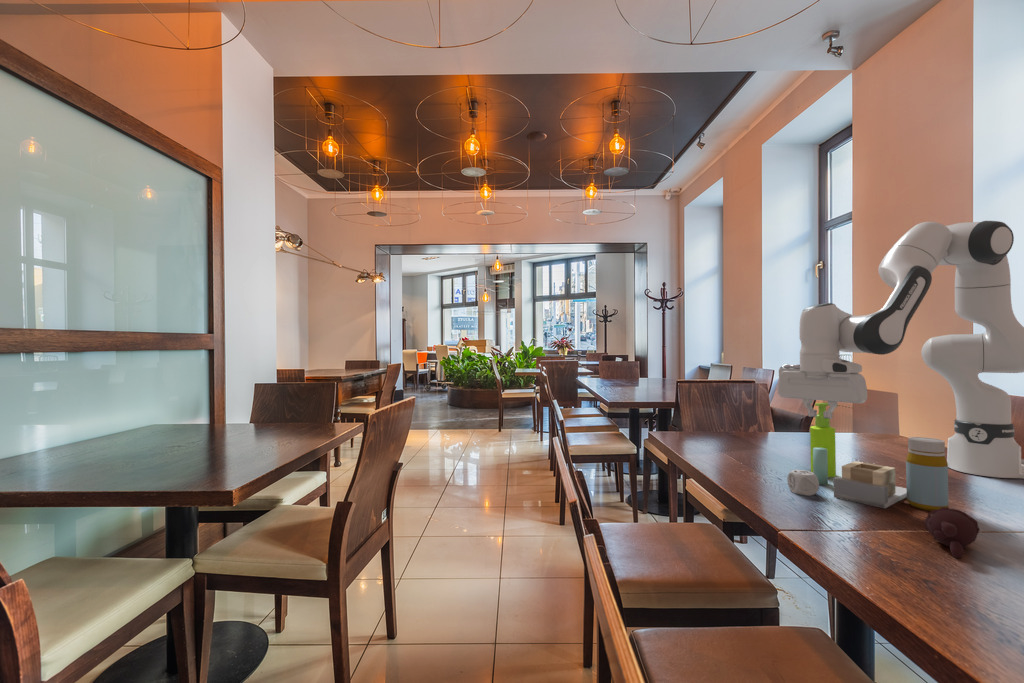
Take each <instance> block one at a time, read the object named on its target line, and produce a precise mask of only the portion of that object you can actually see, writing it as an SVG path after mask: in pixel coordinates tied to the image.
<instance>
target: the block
mask: <svg viewBox="0 0 1024 683" xmlns="http://www.w3.org/2000/svg"><path fill="white" fill-rule="evenodd" d="M841 478H846V479H851V480H856V481H861V482H866V483H871V484H876V485H881V486H886V487H888V497H889V496H891V495H893V494H895V493H896V491H895V486H896V467H892V466H887V465H880V464H875V463H870V462H862V461H856V460H855V461H852V462H850V463H847V464H844V465H841Z"/></svg>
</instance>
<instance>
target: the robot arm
mask: <svg viewBox="0 0 1024 683" xmlns="http://www.w3.org/2000/svg"><path fill="white" fill-rule="evenodd" d="M1014 238H1015V237H1014V232H1013V231H1012V229H1011V227H1010V226H1009V225H1008V224H1006V223H1005V222H1003V221H1000V220H999V221H998V220H983V221H971V222H970V221H968V222H957V223H953V224H950V225H944V224H943V223H940V222H937V221H924V222H920V223H917V224H915V225H913V227H911V228H910V229H909V230H907V231H906V232H905V233H904V234H903V235H902V236H901V237H900V238H899V239H897V241H896V242H895V243H894V244H893V246H891V248H890V249H889V250H888V251H887V252H886V253H885V255H884V257H883V258H882V260H881V261H880V263H879V265H878V270H877V271H878V275H879V277H880V279H881V280H882V281H883V282H884V283H885V284H886V285H887V286H888V287H890V288H892V289H893V291H891V294H890V295H889V297H888V299H887V301H886V302H885V303H884V305H883V307H881V309H879V310H877V311H875V312H872V313H869V314H862V315H853V314H851V313H848V312H846V311H844V310H842V309H840V308H839V307H838V306H837V305H836V304H835V303H834V302H833V303H831V302H827V303H820V304H813V305H808V306H807V307H805V308H804V309H803V310H802V311H801V314H800V318H799V319H800V320H799V332H798V333H799V340H800V344H801V347H800V351H799V364H789V363H786V364H785V363H784V365H782V366H779V368H778V385H777V394H778V395H779V397H780V398H788V399H798V400H802V403H803V405H804V406H805V409H806V410H807V417H810V418H815V417H817V414H818V413H817V412H818V411H817V409H814V407H813V406H812V403H813V401H823V402H827V403H828V405H831V406H828V409H827V410H826V411H824V412H823V414H824V416H823V417H824V418H827V419H830V420H832V419H833V417H834V415H833V412H834V411H835V410H836V408H837V407H838V406H837V405H838V403H849V404H864V403H865V402H866V401H867V400H868V387H867V382H866V381H867V380H866V378H865V377H864V376H863V375H862V374H861V372H862V371H863V366H862V364H860V363H858V362H854V361H850V360H846V359H842V358H841V357H840V352H843V353H857V354H858V353H859V354H860V353H862V354H873V355H874V354H875V355H881V356H882V355H888V354H891V353H893V352H895V351H896V350H898V348H900V346H901V345H902V343H903V341H904V338H905V335H906V332H907V330H908V326H909V324H910V322H911V320H912V318H913V317H914V314H915V313H916V311H917V310H918V309H919V307H920V305H921V303H922V302H923V300H924V298H925V296H926V295H927V293H928V291H929V289H930V288H931V285H932V281H933V278H932V273H933V272H934V271H935V270H936V268H937V267H938V266H955V274H954V311H955V313H956V315H957V317H959V318H960V319H962V320H965V321H968V322H971V323H973V324H976V325H980V326H982V327H983V328H985V332H984V333H971V334H970V333H965V334H964V333H962V334H961V333H960V334H959V333H958V334H957V333H955V334H953V333H952V334H945V335H939V336H933V337H930V338H929V339H927V340H926V341H925V343H924V344H923V345H922V348H921V352H920V354H921V355H920V356H921V358H922V361H923V362H924V364H925V365H926V366H927V367H928V368H929V369H931V370H933V371H934V372H936V373H937V374H939V375H940V376H941V377H943V379H945V381H946V382H947V383H948V384H949V386H950V388H951V390H952V392H953V395H954V396H953V397H954V400H955V412H956V414H955V416H956V419H954V423H953V427H954V432H955V433H954V435H951V436H950V437H948V438H947V450H946V451H947V454H946V455H947V456H946V460H947V463H948V469H951V470H953V471H957V472H961V473H965V474H970V475H977V476H983V477H989V478H990V477H991V478H999V479H1001V478H1003V479H1023V480H1024V458H1022V446H1020V444H1018V443H1017V441H1016V440H1015V439H1014V438H1015V436H1016V435H1015V433H1016V431H1015V426H1014V424H1013V423H1012V398H1011V396H1010V394H1008V392H1006V391H1005V390H1004V389H1002V388H1000V387H997V386H994V385H992V384H989V383H986V382H984V381H982V380H981V379H980V378H979V374H983V373H986V374H987V373H988V374H989V373H991V374H993V373H995V374H996V373H997V374H1020V373H1024V326H1023V325H1022V324H1021V323H1020V322H1019V321H1018V319H1017V317H1016V315H1015V313H1014V310H1013V304H1012V294H1011V293H1012V292H1011V289H1012V288H1011V285H1012V284H1011V280H1012V279H1011V269H1010V263H1009V259H1008V254H1009V252H1010V251H1011V249H1012V247H1013V244H1014Z"/></svg>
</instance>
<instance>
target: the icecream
mask: <svg viewBox="0 0 1024 683" xmlns="http://www.w3.org/2000/svg"><path fill="white" fill-rule="evenodd" d="M923 524H924V525H925V529H926V531H927V532H928V533H929V534H930V535H932V537H933V540H935V541H936V542H938V543H941V544H943V545H944V546H947V547H949V549H950V553H951V555H952V557H954V558H955V559H961V558H963V556H964V550H965V548H966V547H967V546H969V545H970V544H972V543H974V542H975V541H976V540H977V537H978V535H979V532H980V531H981V530H980V528H979V523H978V521H977V520H976V518H973V517H971V515H968V514H967V513H965V512H964V511H963V510H959V509H953V508H949V507H948V508H947V507H942V508H940V509H938V510H933V511H929V512H928V514H927V516H926V517H925V519H924V521H923Z"/></svg>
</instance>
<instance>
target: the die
mask: <svg viewBox="0 0 1024 683" xmlns="http://www.w3.org/2000/svg"><path fill="white" fill-rule="evenodd" d="M786 479H787V485H788V488H789V490H790V491H791V492H792V493H794V494H797V495H801V496H806V497H807V496H815V495H816V494H817V493H818V491H819V489H820V484H819V481H818V478H817V476H816V475H815V474H814V473H813V472H811V470H810V471H809V470H804V469H793V470H791V471H790V472H789V473H788V474H787V478H786Z"/></svg>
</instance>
